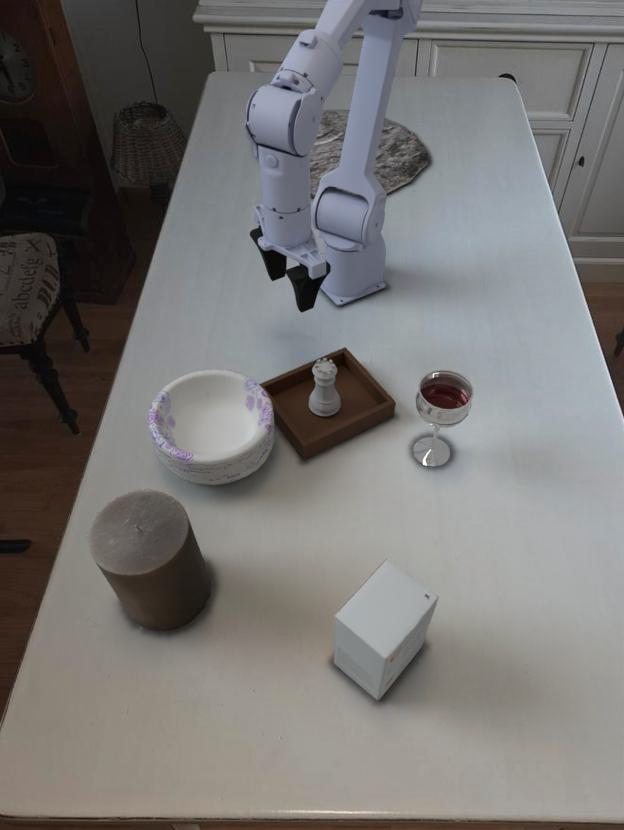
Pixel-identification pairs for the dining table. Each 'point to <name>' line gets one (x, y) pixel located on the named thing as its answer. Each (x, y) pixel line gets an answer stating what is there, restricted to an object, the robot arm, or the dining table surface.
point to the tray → (357, 413)
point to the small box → (382, 627)
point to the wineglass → (441, 411)
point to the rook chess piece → (324, 389)
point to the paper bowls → (212, 426)
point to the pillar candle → (151, 559)
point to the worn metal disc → (393, 161)
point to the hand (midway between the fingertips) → (291, 293)
